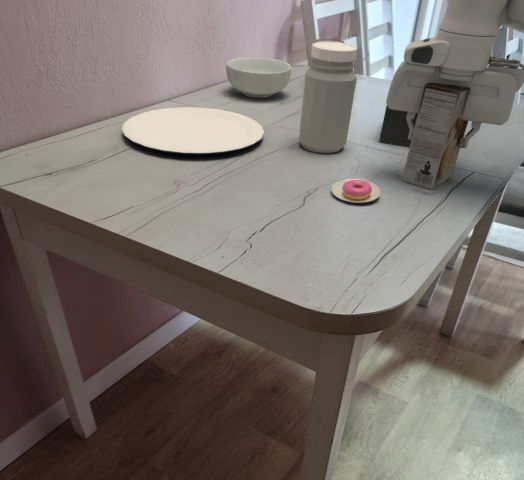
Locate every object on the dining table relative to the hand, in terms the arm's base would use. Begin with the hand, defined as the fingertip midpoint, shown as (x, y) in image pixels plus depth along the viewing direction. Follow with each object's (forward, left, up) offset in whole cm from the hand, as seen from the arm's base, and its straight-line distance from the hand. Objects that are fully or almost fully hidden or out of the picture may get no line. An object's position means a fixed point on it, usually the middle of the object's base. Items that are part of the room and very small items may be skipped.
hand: (436, 143), depth 86 cm
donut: (+11, +12, -7) cm, 18 cm away
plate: (+48, -2, -7) cm, 48 cm away
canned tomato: (+33, -59, -7) cm, 68 cm away
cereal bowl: (+47, -40, -7) cm, 62 cm away
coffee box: (0, 0, -7) cm, 7 cm away
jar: (+22, -8, -7) cm, 24 cm away
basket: (+4, -24, -6) cm, 25 cm away
